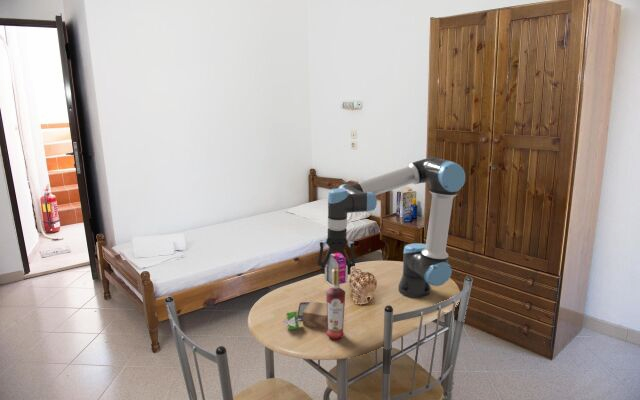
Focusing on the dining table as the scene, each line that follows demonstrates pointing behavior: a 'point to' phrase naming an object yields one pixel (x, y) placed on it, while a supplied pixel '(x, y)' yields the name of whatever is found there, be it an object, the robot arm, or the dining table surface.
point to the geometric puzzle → (292, 320)
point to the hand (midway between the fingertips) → (335, 281)
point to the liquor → (335, 307)
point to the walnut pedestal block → (315, 315)
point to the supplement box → (336, 267)
